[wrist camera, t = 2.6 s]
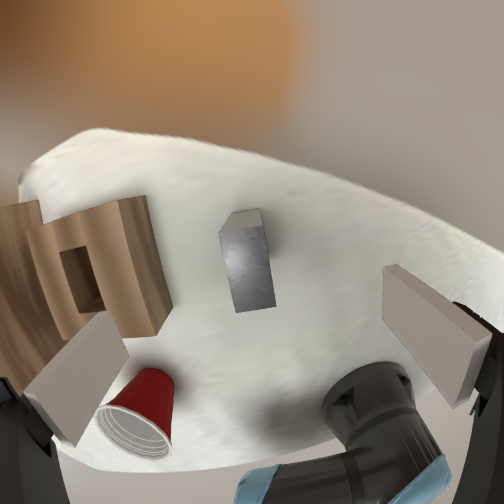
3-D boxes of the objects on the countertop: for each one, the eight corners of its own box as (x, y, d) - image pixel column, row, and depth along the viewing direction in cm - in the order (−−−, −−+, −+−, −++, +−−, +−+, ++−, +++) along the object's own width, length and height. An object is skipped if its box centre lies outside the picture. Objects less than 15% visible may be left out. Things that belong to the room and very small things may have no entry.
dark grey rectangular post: (258, 208, 30) (262, 225, 18) (267, 260, 31) (276, 306, 20) (231, 212, 30) (218, 232, 18) (241, 264, 31) (235, 312, 20)
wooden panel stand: (139, 162, 28) (-19, 152, 7) (181, 334, 34) (123, 478, 13) (26, 205, 29) (-91, 238, 8) (68, 340, 35) (-10, 426, 13)
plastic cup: (128, 341, 34) (90, 395, 23) (198, 371, 35) (181, 435, 24) (119, 387, 37) (90, 438, 25) (179, 413, 38) (164, 470, 26)
